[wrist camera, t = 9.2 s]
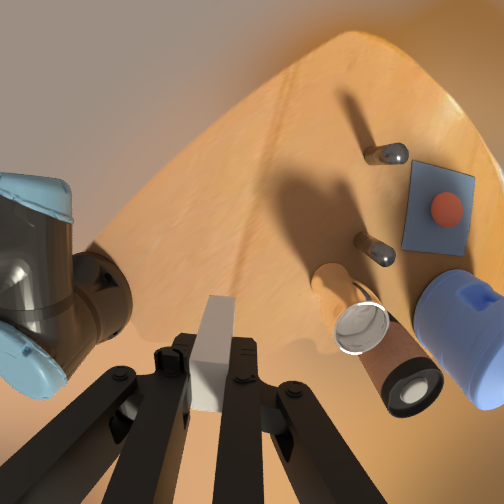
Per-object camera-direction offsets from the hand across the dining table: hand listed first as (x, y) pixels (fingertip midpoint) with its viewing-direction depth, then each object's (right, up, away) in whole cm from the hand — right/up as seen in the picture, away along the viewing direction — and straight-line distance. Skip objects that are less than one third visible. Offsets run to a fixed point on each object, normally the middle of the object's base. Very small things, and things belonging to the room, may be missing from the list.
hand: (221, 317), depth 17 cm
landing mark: (+33, +10, +24) cm, 42 cm away
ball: (+32, +10, +22) cm, 40 cm away
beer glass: (+14, -1, +27) cm, 31 cm away
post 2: (+18, +5, +26) cm, 32 cm away
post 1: (+19, +18, +22) cm, 34 cm away
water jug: (+37, -6, +29) cm, 48 cm away
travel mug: (+20, -7, +29) cm, 36 cm away
